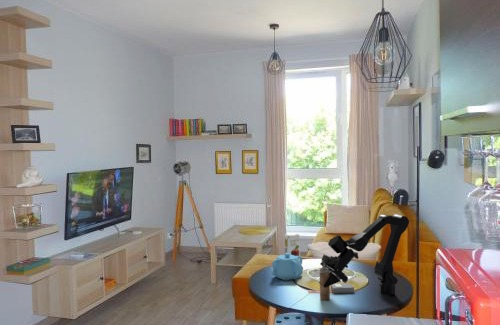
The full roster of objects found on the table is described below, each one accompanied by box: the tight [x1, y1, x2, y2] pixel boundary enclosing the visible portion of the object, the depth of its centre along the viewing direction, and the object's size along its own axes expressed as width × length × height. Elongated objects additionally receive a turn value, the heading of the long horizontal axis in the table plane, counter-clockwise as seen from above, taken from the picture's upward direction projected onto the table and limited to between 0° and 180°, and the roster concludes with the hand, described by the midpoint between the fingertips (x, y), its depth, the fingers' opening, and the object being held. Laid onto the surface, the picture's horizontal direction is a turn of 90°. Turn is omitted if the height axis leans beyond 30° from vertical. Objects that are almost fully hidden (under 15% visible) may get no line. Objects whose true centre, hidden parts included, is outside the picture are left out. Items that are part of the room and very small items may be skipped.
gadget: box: [309, 268, 320, 280], centre depth 218 cm, size 23×15×4 cm, turn 154°
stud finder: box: [330, 282, 355, 294], centre depth 192 cm, size 10×6×3 cm, turn 93°
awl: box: [319, 261, 331, 302], centre depth 182 cm, size 4×4×18 cm
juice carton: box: [283, 232, 301, 261], centre depth 244 cm, size 8×9×19 cm
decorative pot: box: [271, 252, 304, 282], centre depth 218 cm, size 16×16×14 cm
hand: (321, 285), depth 181 cm, fingers closed on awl, 4 cm apart
